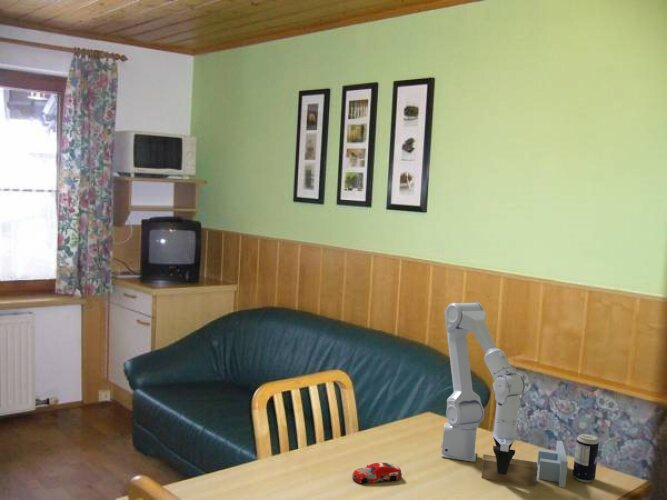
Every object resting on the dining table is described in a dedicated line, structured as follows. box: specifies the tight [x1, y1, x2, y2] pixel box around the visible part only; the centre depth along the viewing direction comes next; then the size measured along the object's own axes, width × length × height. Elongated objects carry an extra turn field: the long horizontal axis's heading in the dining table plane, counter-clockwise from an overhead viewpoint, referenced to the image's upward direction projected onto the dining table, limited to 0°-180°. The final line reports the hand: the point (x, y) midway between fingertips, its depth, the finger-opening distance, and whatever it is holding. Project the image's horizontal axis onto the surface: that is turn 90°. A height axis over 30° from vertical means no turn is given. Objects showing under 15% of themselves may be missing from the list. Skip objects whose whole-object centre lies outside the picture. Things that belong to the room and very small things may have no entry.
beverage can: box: [572, 432, 600, 483], centre depth 190 cm, size 6×6×12 cm
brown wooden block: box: [481, 454, 538, 487], centre depth 187 cm, size 14×4×5 cm, turn 77°
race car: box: [351, 462, 403, 485], centre depth 181 cm, size 13×5×4 cm, turn 108°
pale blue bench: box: [537, 440, 569, 489], centre depth 192 cm, size 6×16×7 cm, turn 167°
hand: (501, 468), depth 187 cm, fingers open, 7 cm apart
